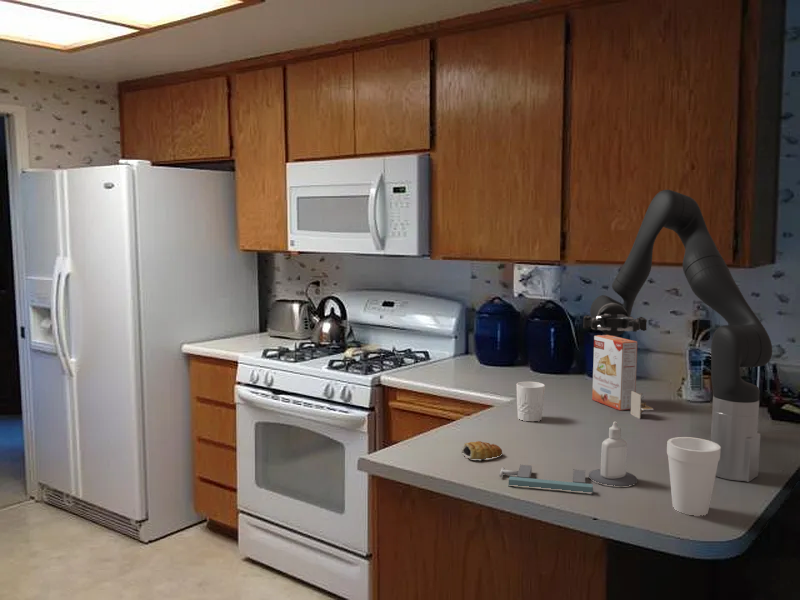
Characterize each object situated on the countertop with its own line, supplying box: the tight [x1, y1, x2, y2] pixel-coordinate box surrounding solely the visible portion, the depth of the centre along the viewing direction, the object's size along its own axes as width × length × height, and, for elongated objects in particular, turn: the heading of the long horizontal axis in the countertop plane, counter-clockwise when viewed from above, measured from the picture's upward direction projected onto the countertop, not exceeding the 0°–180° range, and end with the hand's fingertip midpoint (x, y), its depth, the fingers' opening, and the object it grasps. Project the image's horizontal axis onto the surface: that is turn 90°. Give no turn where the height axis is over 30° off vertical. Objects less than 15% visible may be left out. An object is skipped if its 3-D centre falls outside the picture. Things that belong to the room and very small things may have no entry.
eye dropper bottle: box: [600, 421, 628, 479], centre depth 157 cm, size 4×6×12 cm
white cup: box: [515, 381, 546, 422], centre depth 206 cm, size 8×8×10 cm
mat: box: [588, 468, 638, 486], centre depth 157 cm, size 10×10×1 cm
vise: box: [498, 464, 594, 494], centre depth 155 cm, size 19×10×2 cm, turn 76°
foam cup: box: [666, 436, 721, 517], centre depth 140 cm, size 10×9×13 cm
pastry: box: [461, 440, 503, 460], centre depth 172 cm, size 9×7×4 cm
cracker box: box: [591, 334, 638, 412], centre depth 223 cm, size 14×6×21 cm, turn 21°
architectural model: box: [630, 391, 654, 420], centre depth 210 cm, size 3×7×7 cm, turn 9°
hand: (615, 326), depth 165 cm, fingers open, 8 cm apart
